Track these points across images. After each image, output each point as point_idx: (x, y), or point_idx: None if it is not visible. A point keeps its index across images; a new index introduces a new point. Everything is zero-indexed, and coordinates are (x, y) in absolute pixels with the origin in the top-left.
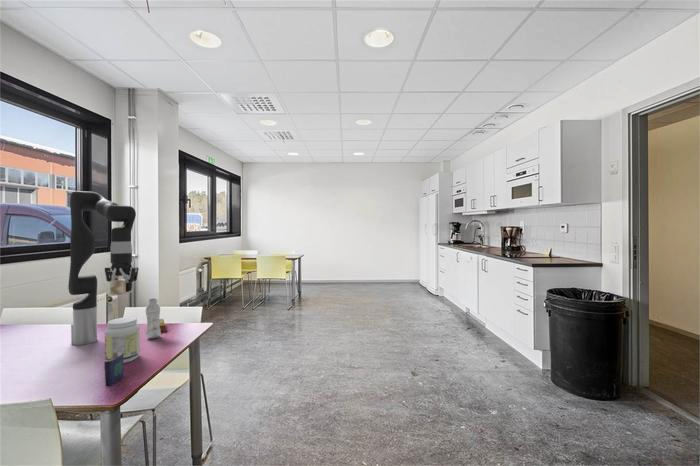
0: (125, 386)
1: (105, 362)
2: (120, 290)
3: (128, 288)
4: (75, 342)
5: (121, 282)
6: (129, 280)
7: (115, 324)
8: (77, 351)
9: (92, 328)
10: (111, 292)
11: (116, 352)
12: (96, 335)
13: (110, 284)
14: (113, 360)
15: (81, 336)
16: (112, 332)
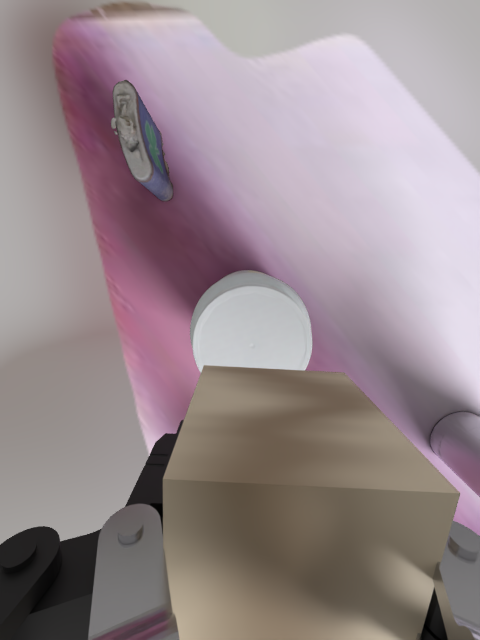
0: (102, 131)
1: (125, 80)
2: (225, 387)
3: (164, 450)
4: (476, 416)
5: (190, 463)
6: (87, 570)
7: (242, 286)
8: (426, 366)
9: (468, 463)
10: (338, 380)
11: (112, 118)
12: (442, 456)
13: (409, 444)
14: (114, 104)
15: (474, 429)
16: (249, 274)
